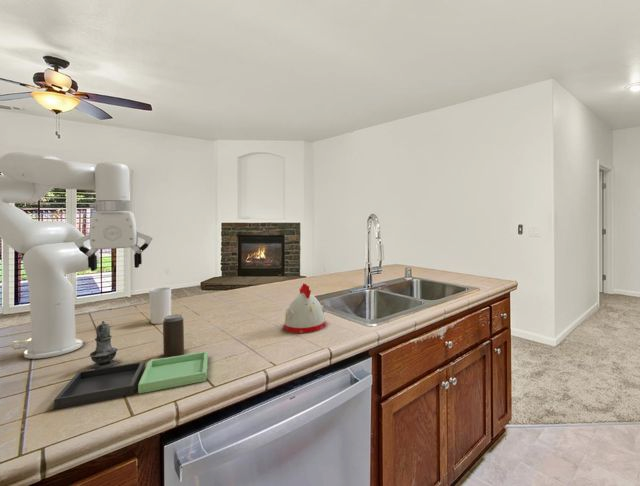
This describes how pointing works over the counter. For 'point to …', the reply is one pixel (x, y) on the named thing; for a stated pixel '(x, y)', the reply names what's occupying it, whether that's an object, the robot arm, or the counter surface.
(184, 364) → the pale tray
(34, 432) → the counter surface
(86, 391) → the dark tray
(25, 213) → the robot arm
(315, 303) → the kitchen timer
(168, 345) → the pepper shaker
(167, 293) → the mug
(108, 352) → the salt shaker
